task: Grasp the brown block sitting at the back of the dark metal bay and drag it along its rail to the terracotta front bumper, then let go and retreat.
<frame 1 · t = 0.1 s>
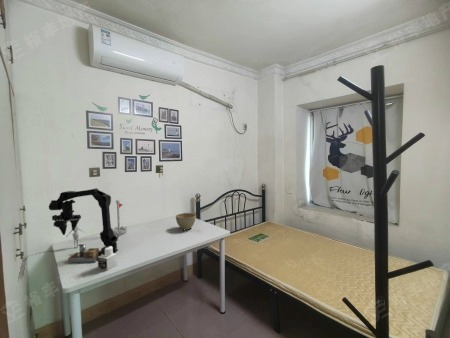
hand: (68, 232, 150), 15 cm above the table, fingers open, 9 cm apart
flower pot: (186, 228, 200), on the table
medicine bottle: (107, 267, 130), on the table
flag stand: (119, 235, 187), on the table
human figurine: (76, 247, 161), on the table
brown block: (91, 254, 142), point 3 cm above the table, slide at 0.0 cm
bay: (87, 258, 142), on the table
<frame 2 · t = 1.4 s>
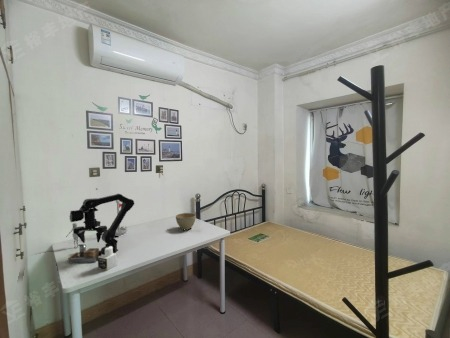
hand: (91, 242, 142), 10 cm above the table, fingers open, 9 cm apart
nothing on the table moved.
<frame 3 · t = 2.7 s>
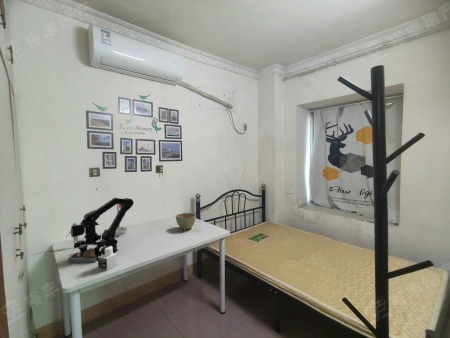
hand: (91, 256, 142), 1 cm above the table, fingers closed on brown block, 6 cm apart
brown block: (91, 254, 142), point 3 cm above the table, slide at 0.0 cm, touching gripper
everything else where it was.
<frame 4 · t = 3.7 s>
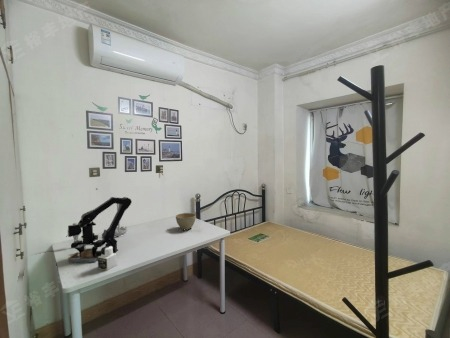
hand: (88, 256, 142), 1 cm above the table, fingers closed on brown block, 6 cm apart
brown block: (88, 254, 142), point 3 cm above the table, slide at 1.8 cm, touching gripper
everything else where it was.
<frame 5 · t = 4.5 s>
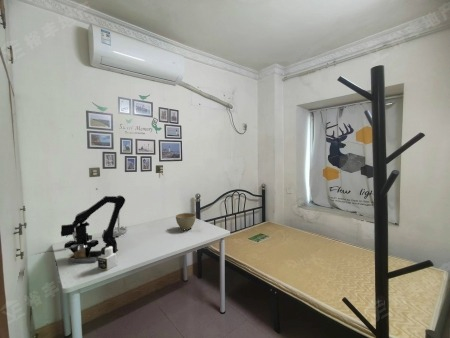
hand: (82, 256, 142), 1 cm above the table, fingers closed on brown block, 6 cm apart
brown block: (82, 254, 142), point 3 cm above the table, slide at 5.9 cm, touching gripper
everything else where it was.
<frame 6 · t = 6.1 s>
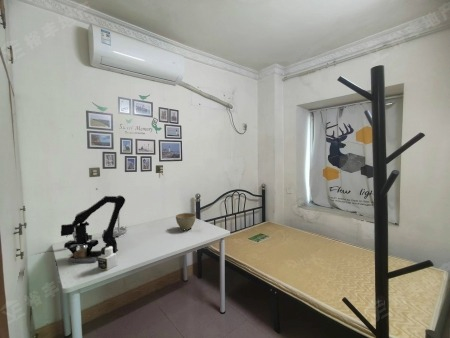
hand: (82, 256, 142), 1 cm above the table, fingers open, 8 cm apart
brown block: (82, 254, 142), point 3 cm above the table, slide at 6.0 cm
everything else where it was.
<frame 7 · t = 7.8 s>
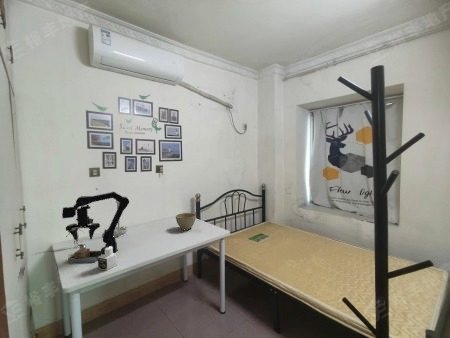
hand: (83, 239, 143), 12 cm above the table, fingers open, 9 cm apart
nothing on the table moved.
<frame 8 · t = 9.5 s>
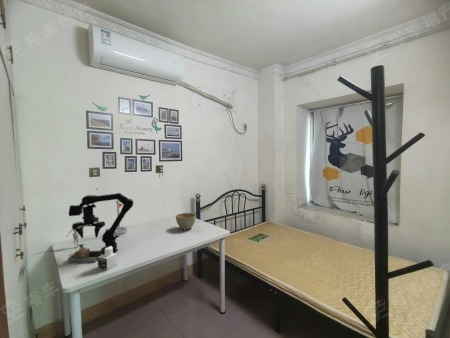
hand: (89, 237, 146), 12 cm above the table, fingers open, 9 cm apart
nothing on the table moved.
at the end: brown block slide at 6.0 cm; the gripper is holding nothing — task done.
